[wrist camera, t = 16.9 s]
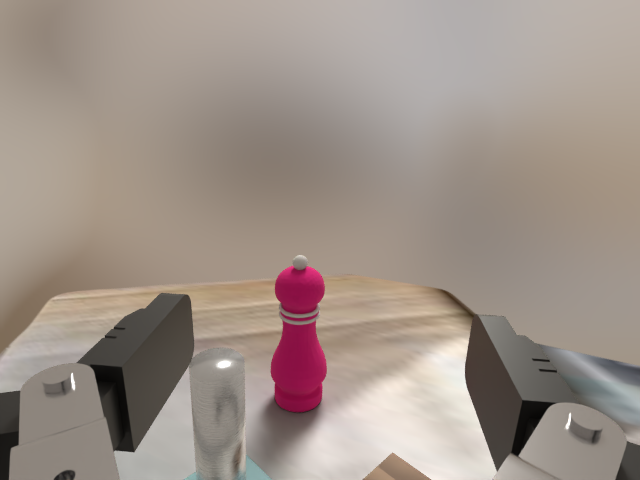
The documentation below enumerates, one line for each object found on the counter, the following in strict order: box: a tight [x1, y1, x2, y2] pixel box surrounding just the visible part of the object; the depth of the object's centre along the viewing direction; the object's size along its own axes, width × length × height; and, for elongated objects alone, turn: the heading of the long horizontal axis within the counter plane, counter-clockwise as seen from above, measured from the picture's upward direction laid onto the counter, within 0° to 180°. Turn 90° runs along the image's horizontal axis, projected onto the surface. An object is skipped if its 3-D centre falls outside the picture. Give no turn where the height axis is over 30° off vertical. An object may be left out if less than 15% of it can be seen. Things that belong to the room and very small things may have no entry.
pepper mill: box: [271, 255, 327, 412], centre depth 54 cm, size 7×7×20 cm
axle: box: [189, 348, 246, 480], centre depth 36 cm, size 4×4×18 cm
